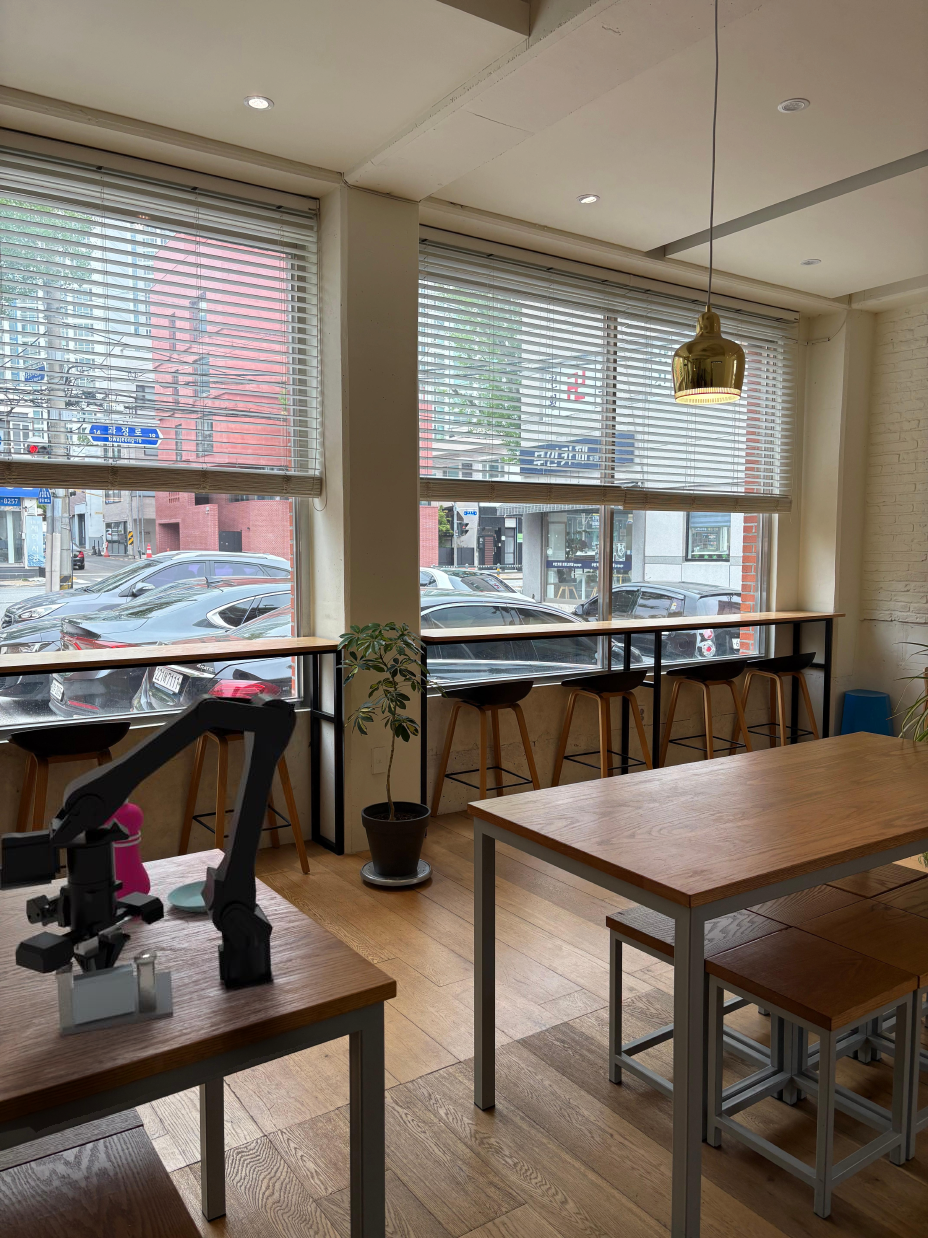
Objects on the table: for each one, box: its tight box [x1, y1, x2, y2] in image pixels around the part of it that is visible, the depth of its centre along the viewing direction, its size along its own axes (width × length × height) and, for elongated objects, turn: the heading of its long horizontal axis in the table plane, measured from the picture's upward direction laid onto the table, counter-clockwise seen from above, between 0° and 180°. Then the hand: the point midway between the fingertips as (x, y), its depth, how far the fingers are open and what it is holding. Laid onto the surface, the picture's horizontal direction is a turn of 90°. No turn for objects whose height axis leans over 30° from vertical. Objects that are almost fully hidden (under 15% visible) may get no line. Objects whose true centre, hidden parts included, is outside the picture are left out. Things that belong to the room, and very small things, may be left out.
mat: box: [61, 970, 174, 1037], centre depth 117 cm, size 13×12×1 cm
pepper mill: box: [103, 798, 151, 922], centre depth 146 cm, size 7×7×20 cm
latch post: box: [54, 961, 74, 1035], centre depth 111 cm, size 2×3×8 cm, turn 20°
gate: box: [72, 963, 135, 1024], centre depth 112 cm, size 7×2×6 cm, turn 115°
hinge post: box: [133, 949, 158, 1013], centre depth 115 cm, size 3×3×8 cm
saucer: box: [167, 879, 208, 913], centre depth 151 cm, size 12×12×2 cm
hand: (97, 993), depth 116 cm, fingers closed
